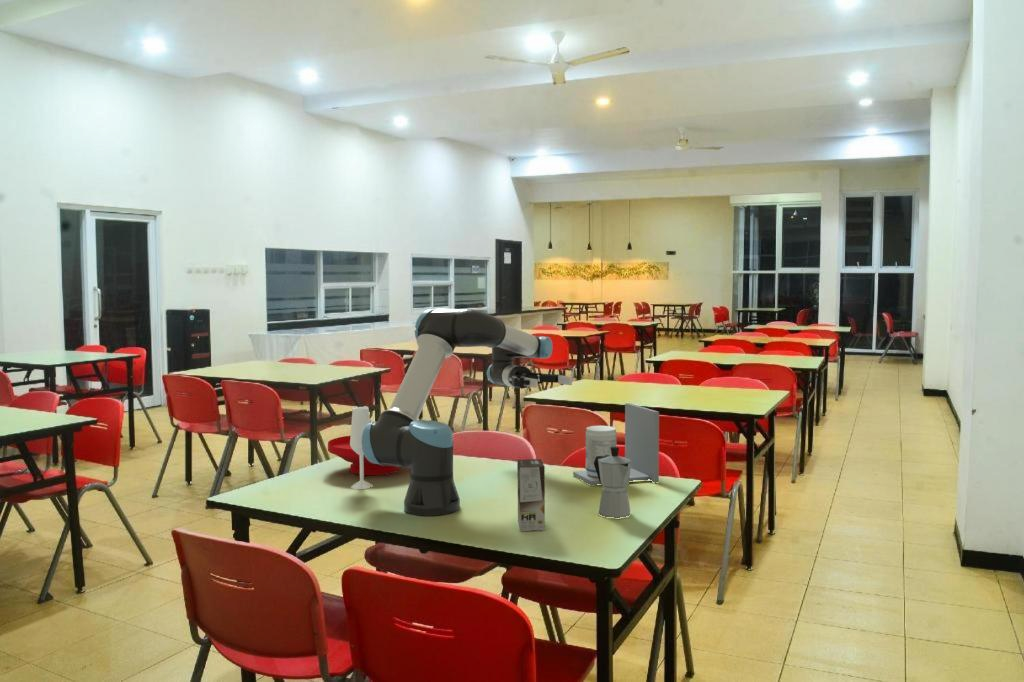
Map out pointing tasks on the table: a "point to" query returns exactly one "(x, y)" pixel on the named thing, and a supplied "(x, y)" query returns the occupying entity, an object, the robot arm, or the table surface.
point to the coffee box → (531, 494)
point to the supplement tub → (598, 445)
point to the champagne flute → (359, 441)
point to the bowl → (356, 458)
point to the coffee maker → (613, 484)
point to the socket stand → (637, 445)
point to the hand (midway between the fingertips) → (554, 382)
